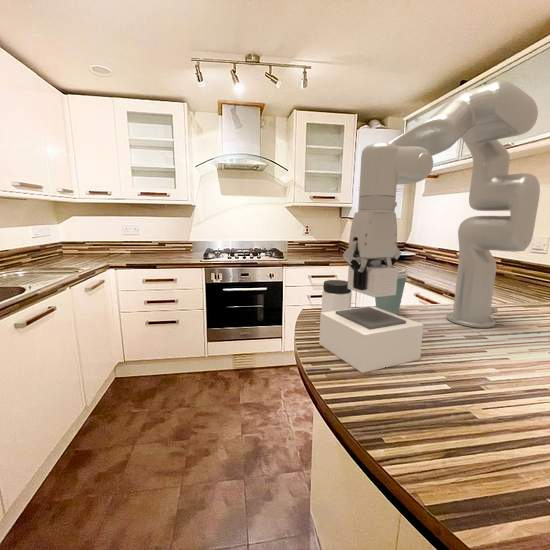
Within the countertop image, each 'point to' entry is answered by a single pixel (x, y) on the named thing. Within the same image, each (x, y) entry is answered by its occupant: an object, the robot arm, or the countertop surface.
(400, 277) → the disposable coffee cup
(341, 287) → the jar
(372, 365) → the stand
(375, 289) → the housing
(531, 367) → the countertop surface
